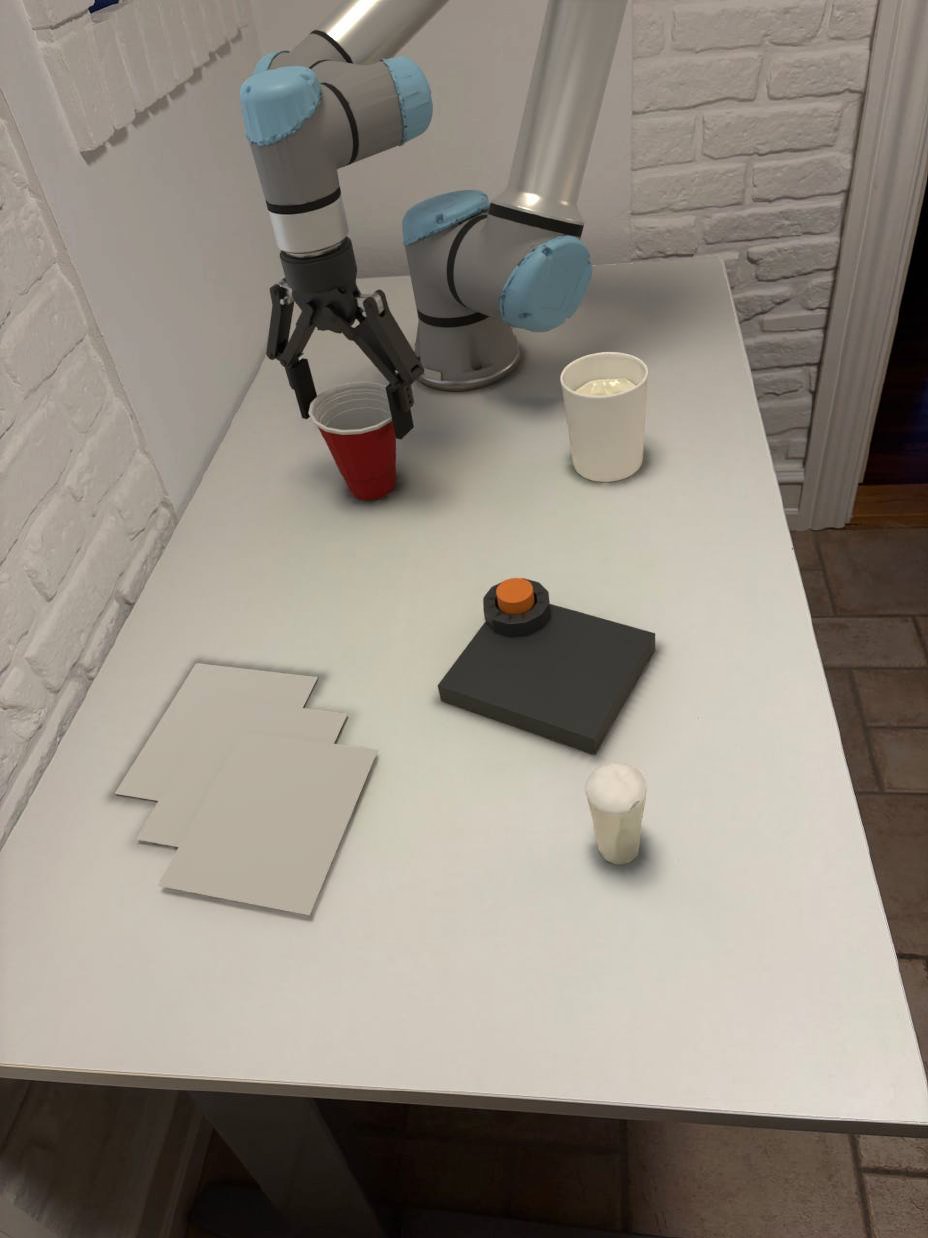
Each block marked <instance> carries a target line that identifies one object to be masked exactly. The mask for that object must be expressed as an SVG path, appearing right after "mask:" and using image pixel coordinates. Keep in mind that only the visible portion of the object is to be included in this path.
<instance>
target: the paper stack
mask: <svg viewBox="0 0 928 1238" xmlns="http://www.w3.org/2000/svg"><path fill="white" fill-rule="evenodd" d="M318 679H319V677H318V676H312V675H303V674H293V673H285V672H277V671H267V670H259V669H251V668H242V667H233V666H224V665H217V664H207V663H199V662H197V663H195V664H194V666H193V667H192V669H191V671H190V672H189V674H188V676H187V677H186V679H185V680H184V682H183V683H182V685H181V687H180V688H179V690H178V691H177V693H176V694H175V696H174V698H173V700H172V701H171V703H170V704H169V705H168V707H167V709H166V710H165V712H164V714H163V715H162V716H161V718H160V720H159V722H158V723H157V725H156V727H155V729H153V731H152V733H151V735H150V736H149V738H148V739H147V741H146V743H145V744H144V745H143V747H142V749H141V750H140V752H139V754H138V755H137V757H136V759H135V760H134V762H133V763H132V765H131V767H130V768H129V770H128V772H127V773H126V775H125V776H124V778H123V779H122V781H121V783H120V784H119V785H118V787H117V789H116V790H115V792H114V795H120V796H125V797H133V798H137V799H144V800H151V801H156V802H157V803H156V804H155V806H154V808H153V809H152V811H151V812H150V815H149V817H148V818H147V820H146V822H145V823H144V825H143V827H142V828H141V830H140V831H139V834H138V835H137V836H136V839H135V840H136V841H142V842H148V843H152V844H158V845H164V846H170V847H175V848H177V849H176V851H175V853H174V855H173V857H172V858H171V861H170V863H169V864H168V865H167V867H166V869H165V871H164V873H163V875H162V877H161V879H160V880H159V883H158V884H157V887H160V888H161V887H162V888H166V889H172V890H175V891H176V890H178V891H181V892H182V891H183V892H187V893H193V894H198V895H203V896H206V897H207V896H208V897H214V898H217V899H218V898H219V899H224V900H229V901H234V902H239V903H244V904H250V905H254V906H258V907H259V906H260V907H265V908H268V909H269V908H270V909H273V910H274V909H275V910H280V911H285V912H290V913H296V914H299V915H305V916H311V913H312V911H313V908H314V906H315V903H316V901H317V898H318V897H319V894H320V891H321V889H322V887H323V884H324V882H325V879H326V877H327V874H328V872H329V870H330V868H331V864H332V862H333V861H334V858H335V855H336V853H337V850H338V847H339V846H340V843H341V841H342V838H343V836H344V833H345V831H346V829H347V827H348V824H349V822H350V819H351V818H352V817H351V816H352V814H353V811H354V810H355V807H356V804H357V802H358V800H359V797H360V795H361V792H362V789H363V787H364V785H365V783H366V780H367V777H368V776H369V773H370V770H371V768H372V766H373V763H374V762H375V758H376V756H377V754H378V752H379V749H374V748H368V747H360V746H354V745H353V746H352V745H345V744H338V743H336V740H337V738H338V736H339V734H340V732H341V729H342V727H343V725H344V723H345V721H346V719H347V716H348V713H345V712H336V711H330V710H321V709H313V708H306V707H304V706H305V704H306V703H307V701H308V699H309V697H310V695H311V692H312V691H313V688H314V686H315V685H316V683H317V680H318Z"/></svg>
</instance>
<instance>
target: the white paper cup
mask: <svg viewBox="0 0 928 1238" xmlns="http://www.w3.org/2000/svg"><path fill="white" fill-rule="evenodd" d="M559 381H560V385H561V386H560V387H561V391H562V398H563V399H562V400H563V404H564V411H565V418H566V426H567V427H566V428H567V433H568V439H569V440H568V441H569V447H570V451H571V452H570V453H571V454H570V455H571V459H572V465H573V468H574V470H575V471H576V472H577V474H578V475H579V476H581V477H583V478H584V479H587V480H590V481H593V482H599V483H611V482H618V481H621V480H624V479H627V478H629V477H631V476H633V475H634V474H636V473H637V472H638V470H639V469H641V466H642V464H643V462H644V461H643V460H644V448H645V433H646V414H647V395H648V381H649V368H648V366H647V364H646V363H645V361H643V360H642V359H640V358H639V357H637V356H635V355H632V354H628V353H625V352H617V351H604V352H603V351H602V352H596V353H590V354H587V355H583V356H581V357H579V358H576V359H574V360H573V361H570V363H568V364H567V365H565V367H564V368H563V370H561V374H560V376H559Z"/></svg>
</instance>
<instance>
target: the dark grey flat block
mask: <svg viewBox="0 0 928 1238" xmlns="http://www.w3.org/2000/svg"><path fill="white" fill-rule="evenodd" d="M521 578H522V579H525V580H527V581H529V582H530V583H531V584H532V586H533V593H534V606H533V607H532V609H531V610H530V611H528V612H526V613H524V614H521V615H508V614H505V613H503V612H502V611H501V610H500V609H499V607H498V601H497V594H496V590H497V587H498V586H499V585H500V584H501V583H502V582H503V581H500V582H499V583H496V584H495V585H492V586H491V587H490V588H489V589H488V591H486V594H484V596H483V597H482V605H483V606H482V610H483V617H484V622H483V624H482V626H481V627H480V628H479V629H478V631H477V632H476V633H475V635H474V636H473V637H472V639H471V640H470V641H469V643H468V644H467V645H466V647H465V648H464V649H463V651H462V652H461V653H460V655H459V656H458V657H457V659H456V660H455V661H454V662H453V664H452V665H451V667H450V668H449V669H448V671H447V672H446V673H445V675H443V677H442V678H441V680H440V681H439V683H438V684H437V689H438V694H439V698H440V701H441V702H444V703H446V704H450V705H452V706H455V707H458V708H461V709H464V710H466V711H469V712H472V713H475V714H478V715H481V716H483V717H486V718H489V719H491V720H494V721H498V722H500V723H503V724H506V725H509V726H513V727H515V728H517V729H520V730H523V731H526V732H529V733H532V734H535V735H538V736H540V737H543V738H545V739H549V740H551V741H555V742H557V743H560V744H563V745H566V746H568V747H572V748H575V749H578V750H580V751H583V752H585V753H589V754H592V755H596V753H597V751H598V749H599V748H600V746H601V744H602V743H603V741H604V740H605V737H606V736H607V734H608V733H609V731H610V729H611V727H612V725H613V724H614V722H615V720H616V719H617V717H618V715H619V714H620V712H621V710H622V708H623V706H624V705H625V703H626V701H627V699H628V697H630V695H631V693H632V691H633V689H634V687H635V685H636V683H637V682H638V680H639V679H640V677H641V675H642V673H643V672H644V670H645V669H646V667H647V665H648V663H649V661H650V660H651V658H652V656H653V655H654V652H655V651H656V633H655V632H652V631H649V630H646V629H641V628H638V627H635V626H632V625H631V626H630V625H628V624H624V623H621V622H617V621H613V620H609V619H605V618H602V617H599V616H595V615H592V614H588V613H584V612H580V611H578V610H575V609H572V608H571V609H570V608H567V607H563V606H560V605H556V604H552V603H551V602H550V593H549V590H548V589H547V588H545V586H544V585H542V584H541V583H540V582H539V581H535V580H532V579H528V578H524V577H521Z"/></svg>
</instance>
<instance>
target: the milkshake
mask: <svg viewBox="0 0 928 1238" xmlns="http://www.w3.org/2000/svg"><path fill="white" fill-rule="evenodd" d="M647 791H648V785H647V782H646V779H645V777H644V776H643V774H642V773H641V772H640V770H638V768H636V767H635V766H633V765H631V764H630V763H626V762H617V761H610V762H607V763H605V764H602V765H600V766H598V767H596V768H595V769H594V770H592V771H591V772H590V774H589V775H588V777H587V779H586V780H585V783H584V792H585V796H586V800H587V803H588V807H589V811H590V814H591V820H592V825H593V831H594V835H595V840H596V845H597V849H598V852H599V854H601V857H602V858H603V859H604V861H606V862H609V863H611V864H613V865H615V866H619V865H624V864H625V865H626V864H630V863H632V862H633V860H634V859H636V857H638V855H639V851H640V843H641V842H640V840H641V832H642V831H641V830H642V822H643V816H644V812H645V805H646V799H647V793H648V792H647Z"/></svg>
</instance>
